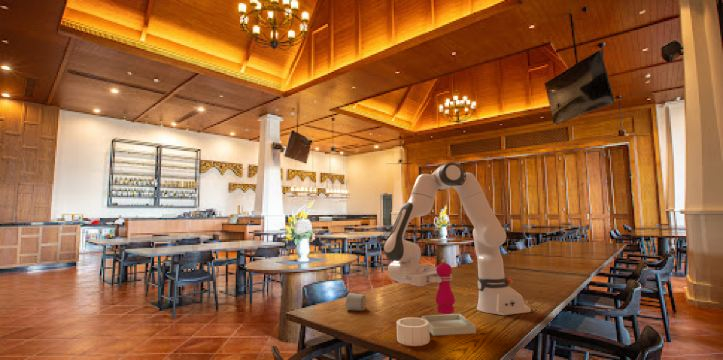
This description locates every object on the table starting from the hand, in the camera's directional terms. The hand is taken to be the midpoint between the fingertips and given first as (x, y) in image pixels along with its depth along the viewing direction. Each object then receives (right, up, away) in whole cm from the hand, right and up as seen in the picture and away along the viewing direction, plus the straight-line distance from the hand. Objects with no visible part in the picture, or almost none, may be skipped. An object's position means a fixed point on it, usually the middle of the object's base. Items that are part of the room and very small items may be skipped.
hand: (446, 279), depth 133 cm
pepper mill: (0, -13, -1) cm, 13 cm away
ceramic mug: (-35, -23, +28) cm, 51 cm away
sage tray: (0, -18, -1) cm, 18 cm away
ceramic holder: (-15, -17, -14) cm, 27 cm away
